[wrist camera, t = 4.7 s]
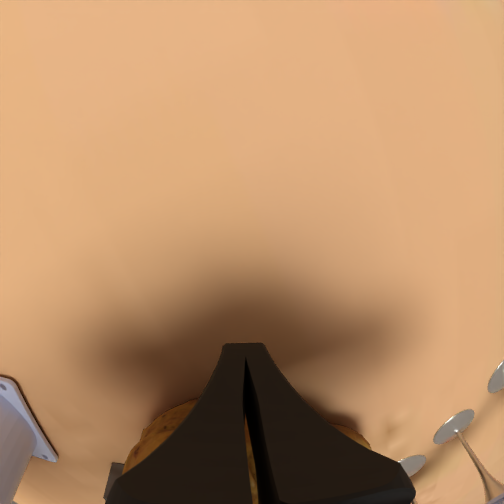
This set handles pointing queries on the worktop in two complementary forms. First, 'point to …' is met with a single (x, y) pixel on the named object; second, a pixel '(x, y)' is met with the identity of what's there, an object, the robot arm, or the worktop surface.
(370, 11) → the worktop surface
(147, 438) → the bread roll
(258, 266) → the worktop surface
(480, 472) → the goblet set
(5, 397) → the robot arm
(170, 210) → the worktop surface
